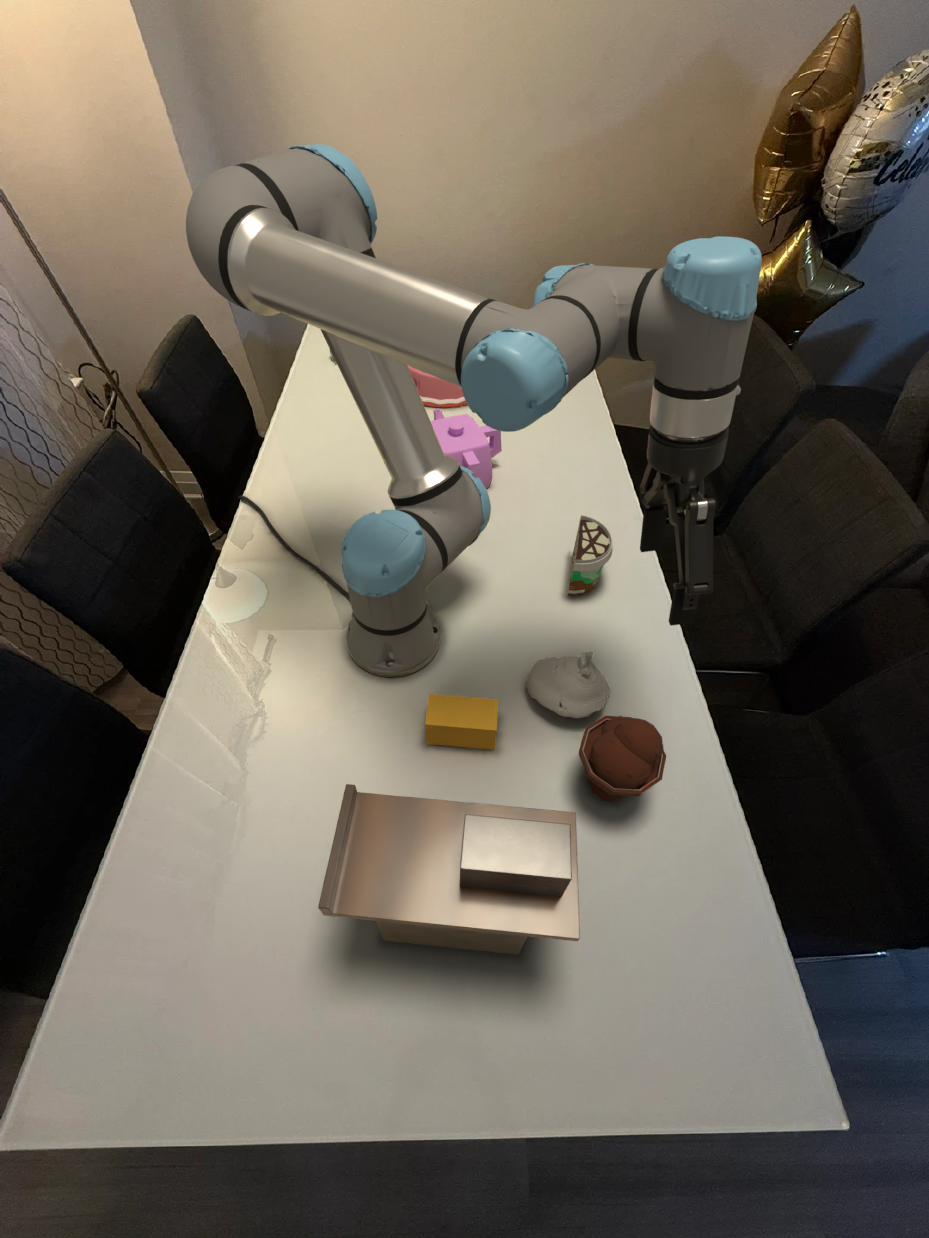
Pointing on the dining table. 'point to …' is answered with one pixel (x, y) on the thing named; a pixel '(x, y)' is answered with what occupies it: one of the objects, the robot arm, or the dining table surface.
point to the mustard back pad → (461, 721)
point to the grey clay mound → (569, 685)
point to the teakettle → (468, 443)
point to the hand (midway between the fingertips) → (664, 583)
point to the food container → (588, 556)
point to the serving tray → (454, 871)
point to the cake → (436, 390)
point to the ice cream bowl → (621, 756)
